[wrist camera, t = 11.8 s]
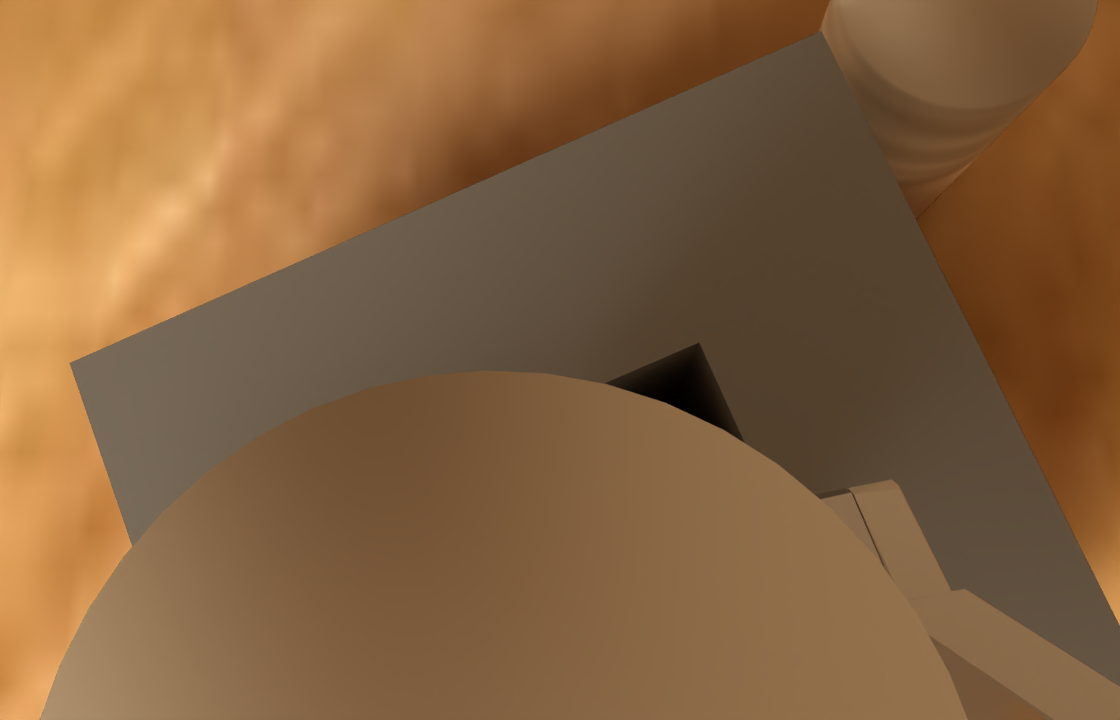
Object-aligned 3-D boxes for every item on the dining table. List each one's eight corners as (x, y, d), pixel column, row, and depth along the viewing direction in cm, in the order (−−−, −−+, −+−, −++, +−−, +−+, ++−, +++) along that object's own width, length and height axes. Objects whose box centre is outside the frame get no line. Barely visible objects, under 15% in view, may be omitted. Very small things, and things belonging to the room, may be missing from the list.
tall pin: (571, 690, 22) (200, 1590, 4) (496, 507, 22) (-101, 591, 5) (752, 614, 22) (1198, 1204, 4) (671, 432, 22) (735, 223, 5)
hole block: (477, 917, 24) (359, 1208, 15) (285, 408, 27) (70, 362, 17) (994, 703, 24) (1235, 855, 14) (757, 202, 26) (821, 30, 16)
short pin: (819, 263, 26) (907, 147, 17) (750, 119, 27) (799, -65, 18) (974, 196, 26) (1144, 44, 17) (900, 53, 26) (1025, -167, 17)
